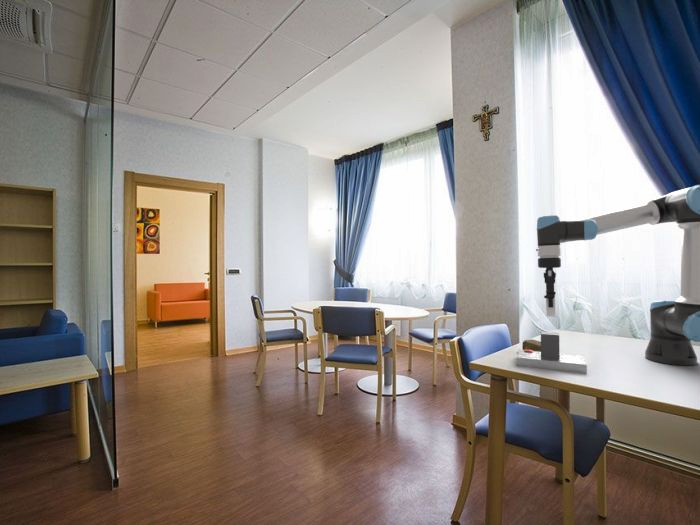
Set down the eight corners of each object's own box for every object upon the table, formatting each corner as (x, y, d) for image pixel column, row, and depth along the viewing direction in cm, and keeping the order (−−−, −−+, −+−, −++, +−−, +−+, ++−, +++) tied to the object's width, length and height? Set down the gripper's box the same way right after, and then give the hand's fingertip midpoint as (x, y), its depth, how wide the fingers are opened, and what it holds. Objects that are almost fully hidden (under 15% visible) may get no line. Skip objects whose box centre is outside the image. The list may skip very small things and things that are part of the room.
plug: (559, 363, 137) (558, 332, 137) (559, 366, 133) (559, 335, 133) (541, 361, 140) (540, 331, 140) (541, 364, 135) (540, 333, 135)
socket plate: (583, 363, 137) (583, 354, 137) (586, 373, 125) (586, 362, 125) (518, 357, 147) (518, 348, 147) (516, 365, 136) (516, 355, 136)
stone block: (532, 349, 159) (532, 338, 159) (553, 356, 148) (553, 344, 148) (521, 350, 158) (521, 339, 158) (541, 357, 147) (541, 345, 147)
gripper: (538, 257, 149) (539, 309, 149) (537, 257, 127) (538, 318, 127) (559, 256, 145) (560, 309, 145) (562, 256, 123) (563, 319, 123)
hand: (550, 313), depth 136 cm, fingers open, 13 cm apart
